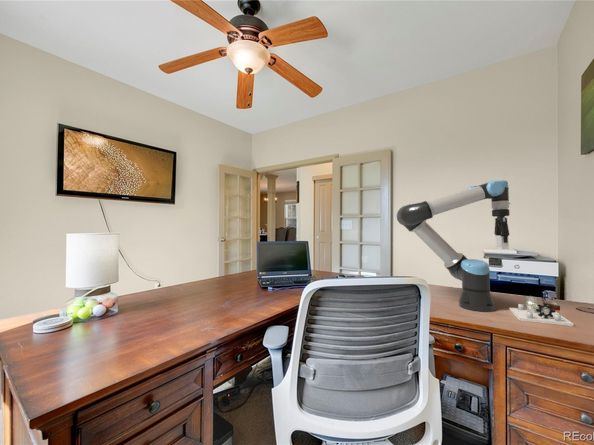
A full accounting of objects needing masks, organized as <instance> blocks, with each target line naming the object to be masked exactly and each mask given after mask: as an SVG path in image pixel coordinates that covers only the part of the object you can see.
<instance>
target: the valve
mask: <svg viewBox="0 0 594 445" xmlns="http://www.w3.org/2000/svg"><path fill="white" fill-rule="evenodd" d="M537 302H538V298H537V297H535V296H532V295H529V296H527V295H526V296H525V306H526V308H525V309H526V311H530V312H533V313H536V312H540V314H538V316H540V317H542V316H544V318H545V319H548V316H550V317H553V315H552V313H555V312H556V310H554V309H552V308H554V306H553V305H552V304H549V305H548V303H546V302H543V303H542V304H543V305H542V304H539V303H537ZM544 307H546V308H544ZM547 309H549V311H550V312H549V314H545V313H547V312H548V310H547ZM541 311H542V312H541Z"/></svg>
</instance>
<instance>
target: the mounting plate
mask: <svg viewBox="0 0 594 445" xmlns="http://www.w3.org/2000/svg"><path fill="white" fill-rule="evenodd" d="M517 304H518V305H517V308H516V307H509V311H510V312H511V313H512V314H513V315H514V316H515V317H516V318H517V319H518V320H519V321H522V322H529V323H530V322H532V323H542V324H547V325H548V324H550V325H561V326H569V327H574V323H573V322H572V321H570V320H569V319H567V318H566V317H564V316H562V315H561V314H560V313H558V312H557V311H555V313H552V315H553V317H550V316H548V319H545V318H544V316H542V317H540V316H538V314H540V312H536V313H533V312H530V311H526V308H525V306H524V303H517ZM544 308H546V307H544ZM547 310H548V312H547V313H545V314H549V312H550V310H549V309H547ZM541 312H542V311H541Z"/></svg>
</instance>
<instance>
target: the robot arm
mask: <svg viewBox="0 0 594 445" xmlns="http://www.w3.org/2000/svg"><path fill="white" fill-rule="evenodd" d="M508 182H509V181H508V180H491V181H489V182H485V183H482V184H479V185H469V186H468V187H467V189H464V190H461V191H459V192H455V193H452V194H449V195H446V196H442V197H439V198H437V199H433V200H431V201H427V200H424V201H422V202H417V203H411V204H410V203H409V204H407V205H402V206H401V207H400V208H399V209H398V210H397V212H396V220H397V222H398V223H399V224H400V225H402V226H403V227H405V228H406V230H408V231H409V232H410V233H414V234H415V235H416V236H417V237H419V239H421V241H423V243H425V245H426V246H427V247H428V248H429V249H430V250H432V252H433V253H435V255H436V256H437V257H439V259H440V260H441V261H443V263H444V265H443V266H444V268H445V269H447V270H448V272H449V274H450V275H451V277H453V278H455V279H456V280H459V281H461V288H462V290H461V293H460V295H459V296H460V297H459V299H458V306H459V307H461V308H463V309H466V310H471V311H476V312H493V311H495V310H496V304H495V302H494V299H493V297H492V294H491V287H490V286H491V284H490V283H491V282H490V281H491V279H490V265H489V264H488V262H486V261H485V260H480V259H476V258H475V259H472V258H467V257H466V255H464V254H463V253H462V252H457V251H456V250H455V249H454V248H453V247H452V246H451V245H450V244H449V243H448V242H447V241H446V240H445V239H444V238H443V237H442V236H441V235H440V234H439V233H438V232H437V231H435V229H434V228H432V227H431V225H430V224H429V223H427V220H430V219H432V218H433V217H434V216H436V215H439V214H442V213H443V214H444V213H445V212H448V211H451V210H455V209H458V208H461V207H464V206H467V205H470V204H474V203H477V202H480V201H483V200H491V209H492V210H491V217H495V218H494V221H495V222H494V235H495V247H496V248H501V249H502V250H510V247H509V246H510V245H509V243H510V242H509V236H510V230H509V223H508V218H507V217H509V216H510V209H509V208H510V205H511V202H509V201H510V200H509V199H510V198H509V196H510V195H509V193H510V192H509V189H510V188H509V183H508Z"/></svg>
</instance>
